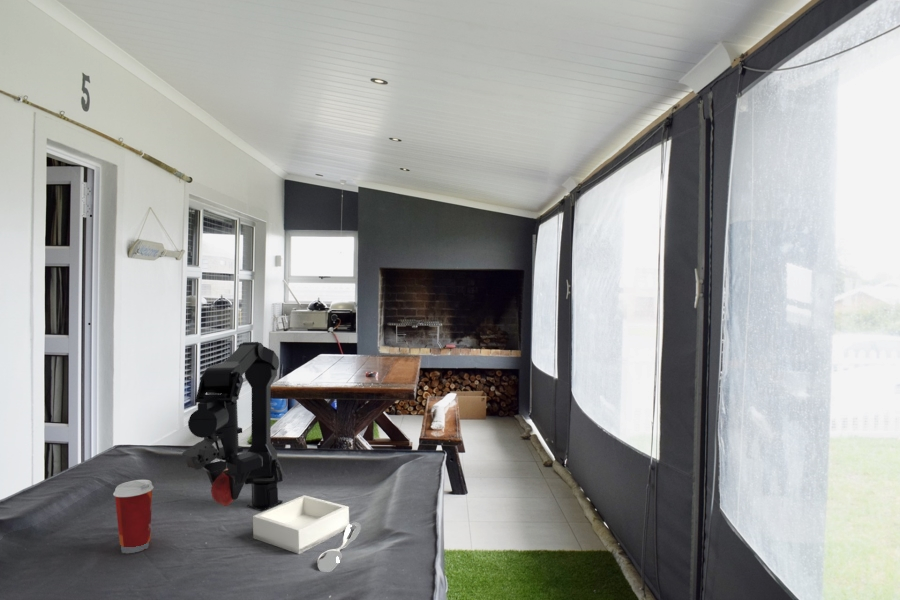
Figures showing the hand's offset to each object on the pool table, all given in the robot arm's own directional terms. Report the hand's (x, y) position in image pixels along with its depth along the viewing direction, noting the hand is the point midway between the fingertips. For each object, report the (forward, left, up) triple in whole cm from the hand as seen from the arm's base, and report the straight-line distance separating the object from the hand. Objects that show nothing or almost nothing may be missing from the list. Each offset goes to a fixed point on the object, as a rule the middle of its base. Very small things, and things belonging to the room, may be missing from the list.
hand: (226, 496), depth 121 cm
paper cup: (-18, -11, -11) cm, 23 cm away
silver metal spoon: (+22, +12, -12) cm, 28 cm away
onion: (0, 0, -2) cm, 2 cm away
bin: (+9, +13, -11) cm, 19 cm away
